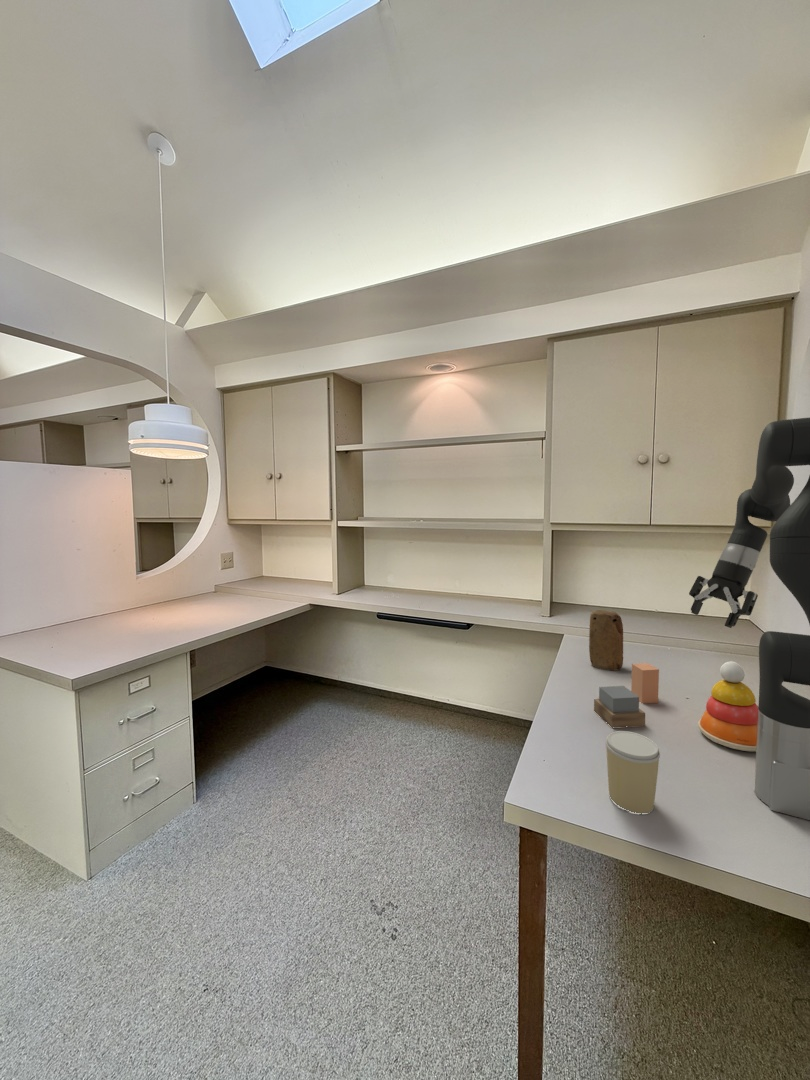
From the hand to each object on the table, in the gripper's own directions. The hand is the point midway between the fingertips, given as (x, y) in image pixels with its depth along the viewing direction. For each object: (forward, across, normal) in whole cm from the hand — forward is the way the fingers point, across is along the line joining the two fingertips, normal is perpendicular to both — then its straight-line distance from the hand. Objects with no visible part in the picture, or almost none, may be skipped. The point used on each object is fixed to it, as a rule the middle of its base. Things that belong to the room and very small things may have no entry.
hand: (710, 620), depth 110 cm
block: (+29, -32, +16) cm, 46 cm away
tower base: (+34, -5, -11) cm, 36 cm away
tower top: (+31, -6, -12) cm, 33 cm away
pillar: (+29, -10, +5) cm, 31 cm away
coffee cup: (+39, +18, -35) cm, 55 cm away
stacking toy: (+26, +13, +4) cm, 29 cm away
